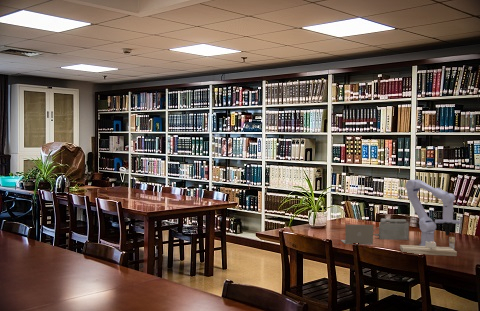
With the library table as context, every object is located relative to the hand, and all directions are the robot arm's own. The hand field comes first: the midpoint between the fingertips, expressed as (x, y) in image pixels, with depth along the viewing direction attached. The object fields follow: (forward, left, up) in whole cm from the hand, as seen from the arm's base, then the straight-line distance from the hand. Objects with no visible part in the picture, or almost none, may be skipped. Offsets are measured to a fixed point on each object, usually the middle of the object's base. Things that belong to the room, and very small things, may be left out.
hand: (447, 235), depth 314 cm
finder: (+5, -11, -7) cm, 14 cm away
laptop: (-13, -53, -10) cm, 56 cm away
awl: (-1, +3, -10) cm, 10 cm away
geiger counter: (-30, -29, -10) cm, 43 cm away
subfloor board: (+9, -13, -10) cm, 19 cm away
